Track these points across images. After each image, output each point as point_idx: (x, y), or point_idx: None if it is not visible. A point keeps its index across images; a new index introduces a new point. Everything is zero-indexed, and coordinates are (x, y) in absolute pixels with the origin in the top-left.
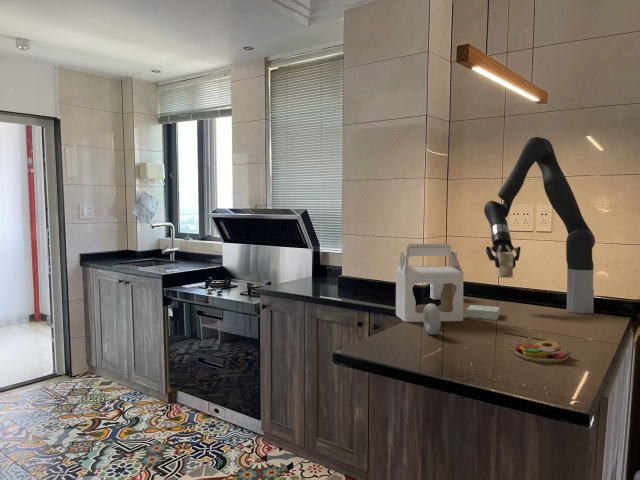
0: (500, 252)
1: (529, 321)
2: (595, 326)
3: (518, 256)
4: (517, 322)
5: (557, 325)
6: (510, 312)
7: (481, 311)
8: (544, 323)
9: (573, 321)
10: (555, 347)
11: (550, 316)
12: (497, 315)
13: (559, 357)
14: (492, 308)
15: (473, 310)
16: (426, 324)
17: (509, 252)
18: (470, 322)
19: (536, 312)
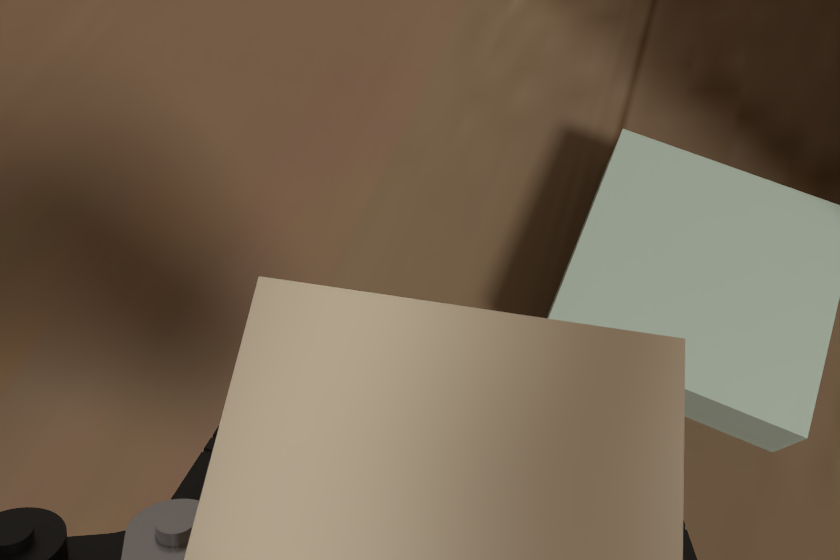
0: (624, 513)
1: (394, 122)
2: (52, 5)
3: (7, 521)
4: (489, 91)
5: (270, 22)
6: None
7: (733, 173)
8: (322, 70)
9: (84, 131)
10: None
11: (136, 301)
12: (599, 185)
13: None
14: (628, 258)
15: (796, 194)
16: None
17: (269, 528)
18: (802, 82)
19: (150, 485)
